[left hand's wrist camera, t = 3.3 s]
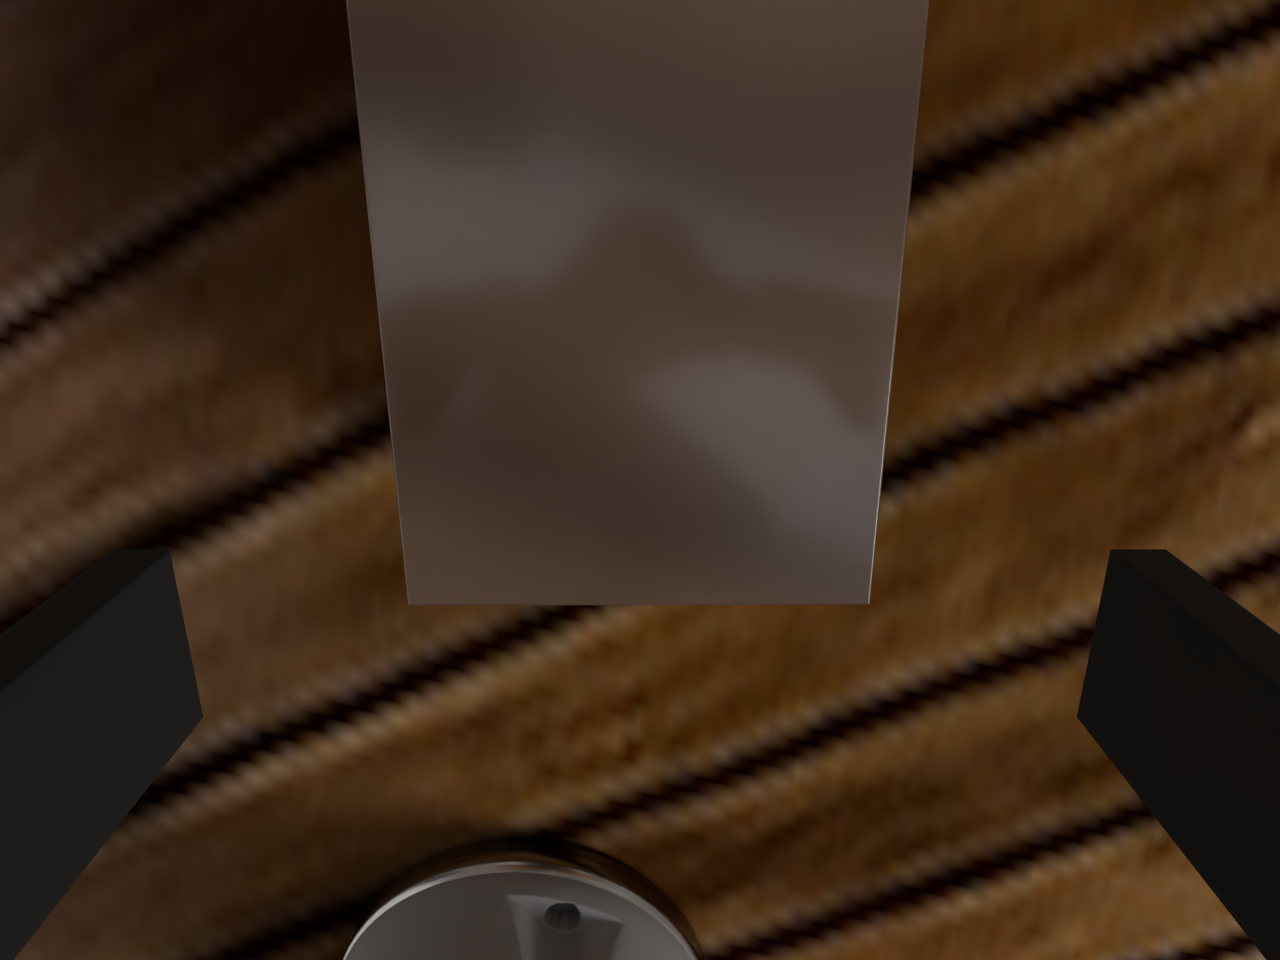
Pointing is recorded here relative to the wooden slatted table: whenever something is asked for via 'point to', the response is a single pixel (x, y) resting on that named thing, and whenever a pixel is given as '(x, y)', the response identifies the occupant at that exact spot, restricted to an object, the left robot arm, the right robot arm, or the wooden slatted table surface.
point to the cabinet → (638, 290)
